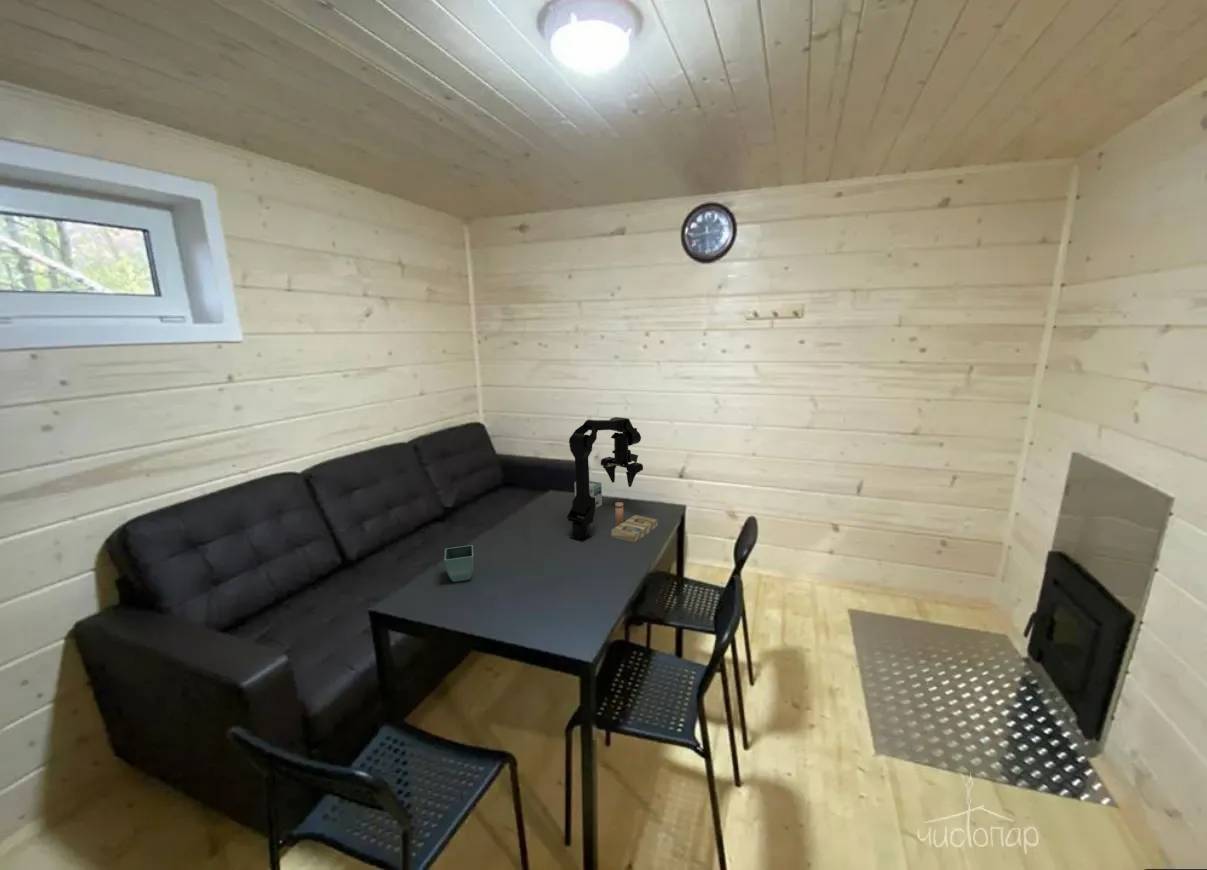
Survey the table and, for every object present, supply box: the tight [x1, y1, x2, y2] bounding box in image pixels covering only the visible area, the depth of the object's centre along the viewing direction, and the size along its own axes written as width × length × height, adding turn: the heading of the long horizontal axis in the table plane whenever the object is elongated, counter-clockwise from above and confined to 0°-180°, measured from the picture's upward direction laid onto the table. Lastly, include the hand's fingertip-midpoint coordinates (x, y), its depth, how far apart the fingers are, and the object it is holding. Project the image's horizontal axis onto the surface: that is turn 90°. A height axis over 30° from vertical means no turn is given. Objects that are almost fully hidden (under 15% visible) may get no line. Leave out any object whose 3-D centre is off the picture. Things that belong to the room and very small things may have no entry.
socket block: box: [611, 514, 659, 544], centre depth 197 cm, size 18×10×3 cm, turn 146°
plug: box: [614, 501, 625, 527], centre depth 204 cm, size 3×3×9 cm
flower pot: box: [443, 544, 474, 583], centre depth 163 cm, size 9×9×9 cm
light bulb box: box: [573, 480, 603, 509], centre depth 226 cm, size 11×7×11 cm, turn 58°
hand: (621, 484), depth 211 cm, fingers open, 9 cm apart
